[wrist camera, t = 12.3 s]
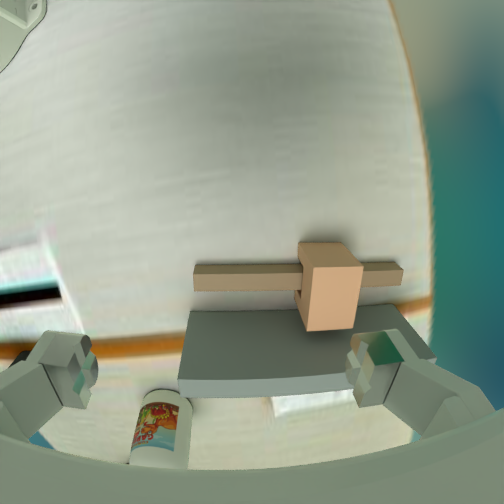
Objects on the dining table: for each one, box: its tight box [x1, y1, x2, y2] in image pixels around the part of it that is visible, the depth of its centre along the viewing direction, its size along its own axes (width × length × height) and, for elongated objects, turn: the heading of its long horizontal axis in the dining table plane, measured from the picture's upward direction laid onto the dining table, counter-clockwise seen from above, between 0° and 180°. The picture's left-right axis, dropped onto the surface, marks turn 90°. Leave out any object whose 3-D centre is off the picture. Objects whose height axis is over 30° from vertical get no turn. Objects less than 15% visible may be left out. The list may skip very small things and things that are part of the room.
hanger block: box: [294, 242, 364, 331], centre depth 34 cm, size 7×5×7 cm
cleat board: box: [177, 262, 437, 398], centre depth 32 cm, size 8×26×12 cm, turn 89°
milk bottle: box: [129, 390, 193, 470], centre depth 34 cm, size 8×8×20 cm
